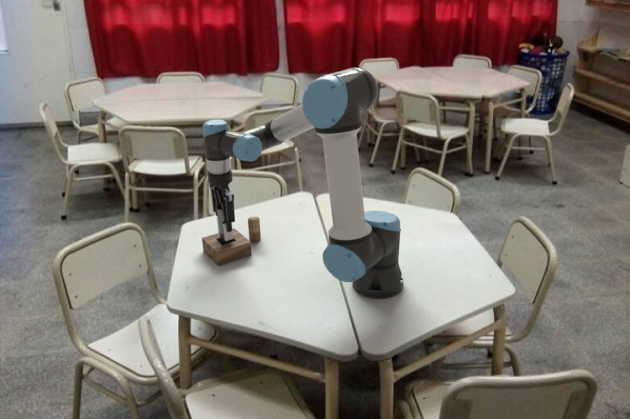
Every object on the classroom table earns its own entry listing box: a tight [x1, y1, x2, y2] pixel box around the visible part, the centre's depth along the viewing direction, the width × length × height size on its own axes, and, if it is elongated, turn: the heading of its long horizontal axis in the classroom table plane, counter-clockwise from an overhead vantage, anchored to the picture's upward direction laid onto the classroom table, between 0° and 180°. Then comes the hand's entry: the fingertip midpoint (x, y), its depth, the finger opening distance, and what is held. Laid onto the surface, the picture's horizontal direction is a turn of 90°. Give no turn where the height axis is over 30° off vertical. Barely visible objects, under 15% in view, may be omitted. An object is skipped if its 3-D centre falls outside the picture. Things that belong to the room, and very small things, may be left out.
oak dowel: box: [247, 216, 262, 244], centre depth 190 cm, size 4×4×8 cm
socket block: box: [201, 228, 253, 267], centre depth 182 cm, size 12×12×5 cm
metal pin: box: [217, 207, 233, 245], centre depth 179 cm, size 4×4×14 cm
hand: (225, 236), depth 180 cm, fingers closed on metal pin, 4 cm apart
